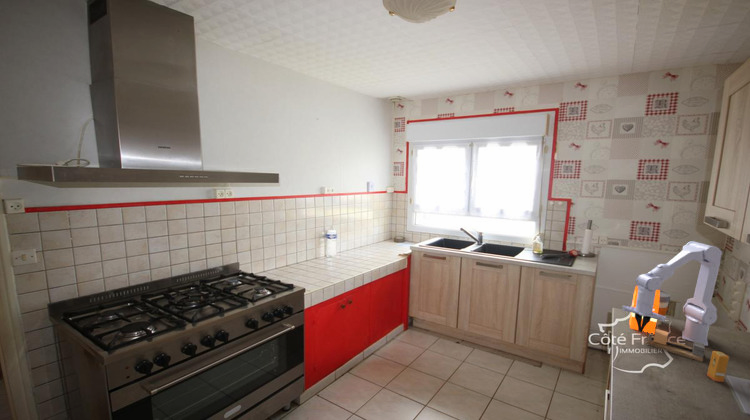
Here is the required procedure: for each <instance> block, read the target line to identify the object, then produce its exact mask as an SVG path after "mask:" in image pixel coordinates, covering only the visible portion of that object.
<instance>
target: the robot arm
mask: <svg viewBox="0 0 750 420" xmlns="http://www.w3.org/2000/svg"><path fill="white" fill-rule="evenodd" d="M722 255H723V251H722V250H721V249H720V248H719V247H718V246H715V245H711V244H710V245H709V244H706V243H702V242H697V241H695V240H692V241H689V242H687V243H686V244H685V245H683V246H682V250H681V251H680V252H678V254H676V255H675V256H674V257H673V258H671V259H670V260H669V261H668V262H666V263H660V264H657V265H656V266H655V267H654V268H653V269H651V270H650V271H649V272H647V273H642V274H639V275H638V277H637V278H636V279H635V282H636V286H638V295H637V301H636V308H635V307H632V306H627V305H622V308H621V310H622V311H623V312H628V313H630V314H631V313H635V319H636V321H637V324H638V330H637V331H638V332H640V333H643V329H644V327H645V326H646V324H647V323H648V322H649V321H650V319H651V318H654V319H657V320H661V321H662V323H665V322H666V317H667V316H666V315H665V316H663V315H660V314H657V313H654V312H652V311H653V305H654V299H655V293H656V290H658V289H659V290H660V288H661V287H662V285H663V284H664V281H666V280H668V279H669V278H670V277H672V276H674V274H675V270H676V269H679V268H680V267H682V266H684V265H685V264H687V263H689V262H691V261H697V262H699V264H700V269H699V272H698V276H697V282H696V286H695V289H694V294H693V297H691V298H688V299H686V303H685V304H684V305H683V307H682V312H683V313H684V314H685V317H686V320H685V325H684V330H682V331H681V332H682V333H681V338H682V340H685V341H689V342H692V343H694V341H698V342H701V343H704V345H705V346H706V347H708V346H709V342H708V335H709V329H710V326H711V325H713V324H714V323H716V322H717V319H718V315H717V310H718V309H717V307H716V306H715V305H714V304H713V303H712V299H713V294H714V292H715V291H714V290H715V288H716V287H715V286H716V282H717V278H718V275H719V270H720V266H721V259H722ZM642 316H643V321H642ZM641 322H642V326H641Z"/></svg>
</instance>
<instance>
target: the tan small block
mask: <svg viewBox="0 0 750 420" xmlns="http://www.w3.org/2000/svg"><path fill="white" fill-rule="evenodd" d="M668 335H669V331H666V330H661V329H659V328H655V333H654V335H653V336H654V342H657V343H660V344H663V345H666V342H667V340H668V337H669V336H668Z"/></svg>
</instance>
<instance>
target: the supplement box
mask: <svg viewBox="0 0 750 420" xmlns="http://www.w3.org/2000/svg"><path fill="white" fill-rule="evenodd" d="M729 359H730V356H728V355H727V354H725V353H724V352H722V351H717V350H712V353H711V357H710V361H709V365H708V369H707V373H706V376H707V377H708V378H710V380H712V381H713V382H717V383H718V382H719V383H724V381H725V376H726V373H727V369H728V368H727V367H728V364H729V361H730V360H729Z"/></svg>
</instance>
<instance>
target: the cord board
mask: <svg viewBox="0 0 750 420" xmlns="http://www.w3.org/2000/svg"><path fill="white" fill-rule="evenodd" d="M654 336H655V335H653V334H651V333H648V336H647V341H646V345H647V344H648V345H647V346H650V345H651V347H653V346H654V347H653V348H658V349H660V350H662V351H667V352H669V353H673V354H677V355H679V356H682V357H685V358H687V359H692V360H696V361H698V362H702V363H703V362H704V354H705V350H706V348H705V345H704V343H701V342H698V341H694V342H692V344H693V345H692V347H691V346H688V345H686V344H683V343H679V342H674V341H671V340H668V339H667V342H666V345H663V344H660V343H657V342H654Z"/></svg>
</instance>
